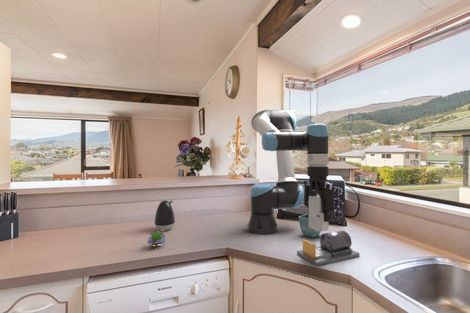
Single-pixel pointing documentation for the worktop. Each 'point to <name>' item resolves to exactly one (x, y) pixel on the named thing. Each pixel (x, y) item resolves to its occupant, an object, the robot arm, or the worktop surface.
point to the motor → (329, 249)
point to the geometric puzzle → (156, 238)
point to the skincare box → (315, 212)
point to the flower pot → (307, 226)
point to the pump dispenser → (164, 216)
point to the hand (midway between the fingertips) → (318, 227)
